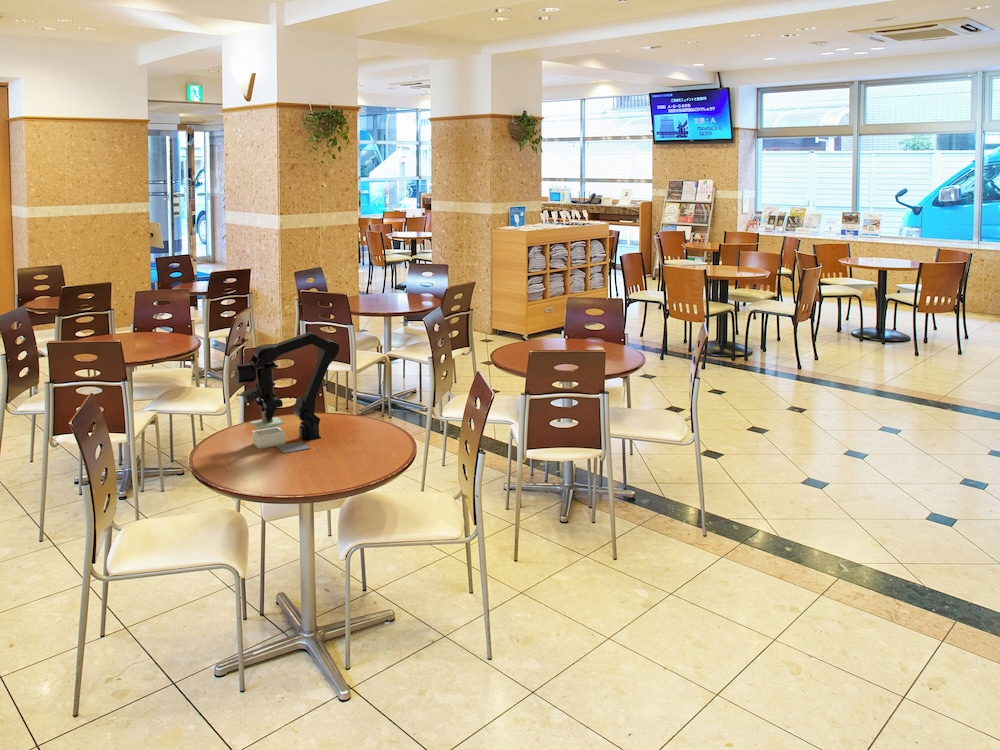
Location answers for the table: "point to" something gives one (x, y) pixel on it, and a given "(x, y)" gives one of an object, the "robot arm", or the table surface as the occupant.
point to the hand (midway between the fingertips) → (267, 420)
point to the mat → (292, 447)
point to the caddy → (268, 437)
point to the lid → (264, 424)
